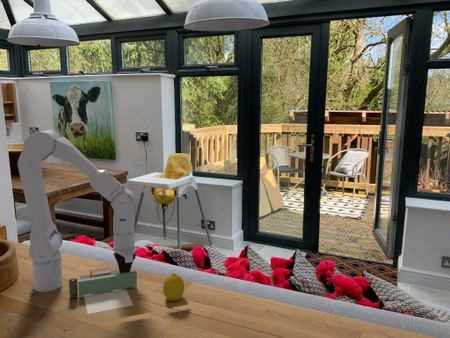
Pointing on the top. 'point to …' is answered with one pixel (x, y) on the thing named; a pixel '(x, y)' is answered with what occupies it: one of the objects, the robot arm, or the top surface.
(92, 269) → the block
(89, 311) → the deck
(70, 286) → the gate post
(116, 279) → the bar
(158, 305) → the top surface
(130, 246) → the robot arm
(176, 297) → the lemon
